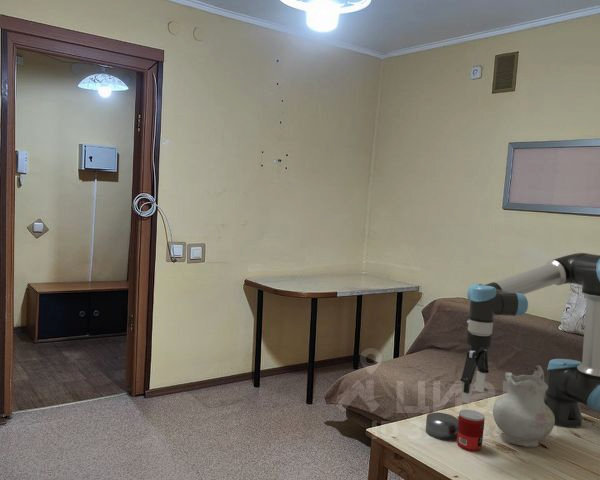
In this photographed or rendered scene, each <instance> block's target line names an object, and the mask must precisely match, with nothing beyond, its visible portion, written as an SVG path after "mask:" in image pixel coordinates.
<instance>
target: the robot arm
mask: <svg viewBox="0 0 600 480" xmlns="http://www.w3.org/2000/svg"><path fill="white" fill-rule="evenodd" d="M565 284H572V285H573V284H575V285H578V286H582V287H581V294H583V296H585V298H586V301H585V302H586V303H585V318H584V330H583V331H584V332H583V346H582V359H581V360H582V361H579V360H575V359H569V358H568V359H567V358H553V359H550V360H549V362H548V365H547V368H546V369H547V371H546V378H545V379H546V382H545V383H546V384H547V385H548V389H547V391H546V392H545V394H544V402H545V404H546V405H547V406H548V407H549V408H550V410H551V411H552V412H553V414H554V417H555V424H554V426H558V427H559V426H560V427H563V428H579V427H581V426H582V424H583V415H582V411H581V406H580V404H583V405H584V406H587V407H588V408H590V409H593V410H596V411H598V412H600V255H599V254H591V253H586V252H585V253H584V252H577V253H576V252H575V253H572V254H567V255H564V256H561V257H558V258H554V259H551V260H549V261H547V262H546V263H545V264H544V265H541V266H539V267H535V268H533V269H529V270H526V271H524V272H523V271H522V272H520V273H517V274H514V275H510V276H509V277H508V276H507V277H505V278H501V279H498V280H496V281H493V282H489V283H486V284H483V283H474V284H471V286H469V288H468V289H467V292H466V293H467V294H466V295H467V299H468V301H469V310H468V311H469V312H468V320H467V321H466V324H467V330H468V331H467V332H466V344H467V345H469V346H470V347H471V348H470V350H469V349H468V350H467V352H466V359H465V362H464V366H463V371H462V375H461V378H460V381H461V382H462V383H463V384H462V390H461V391H462V393H461V402H463V403H464V404H465V403H466V404H471V402H472V393H473V392H472V391H473V385H474V384H473V379H474V376H475V374H476V378H475V387H474V388H475V389H474V391H475V392H479V393H483V394H484V393H485V384H486V383H485V382H486V376H487V375H486V374H489V372H490V370H489V357H488V356H489V353H488V348H490V347H491V345H492V334H493V329H494V327H493V325H494V317H495V316H503V317H505V316H506V317H509V316H510V317H511V316H512V317H516V316H523V315H525V314H526V313H527V311H528V307H529V301H528V298H527V296H526V295H527V294H529V293H532V292H535V291H538V290H541V289H545V288H547V287H550V286H553V285H555V286H562V285H565ZM476 369H477V370H478V371H476ZM475 372H476V373H475Z"/></svg>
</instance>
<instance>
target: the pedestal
mask: <svg viewBox="0 0 600 480" xmlns="http://www.w3.org/2000/svg"><path fill="white" fill-rule="evenodd" d="M425 421H426V422H425V434H427V435H428V436H430V437H431V438H433V439H436V440H439V441H440V440H441V441H448V442H449V441H454V440H457V433H458V421H459V418H457V416H454V415H451V414H449V413H445V412H431V413H428V414H427V415H426V420H425Z"/></svg>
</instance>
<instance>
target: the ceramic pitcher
mask: <svg viewBox="0 0 600 480" xmlns="http://www.w3.org/2000/svg"><path fill="white" fill-rule="evenodd" d="M504 378H505V381H506V385H507V393H506V394H505V395H504V396H501V397H499V398H497V399H496V400H495V401H494V403H493V406H492V407H493V408H492V416H493V420H494V422H495V424H496V426H497V428H498V429H499V430H500V431H501V432H503V433H502V435H501V437H500V438H501V440H502V442H504V443H506V444H507V443H508V444H512V445H518V446H521V447H526V448H536V447H539V446H540V443H539V441H541V440H544V439H545V438H547V437H548V436H549V435H550V434H551V432H552V431H553V429H554V426H555V417H554V414H553V412H552V411H551V410H550V408H549V407H548V406H547V405H546V404H545V402H544V397H545V392H546V391H547V389H548V385H547V384H546V382H545V373H544V369H543V367H542V366H541V365H539V364H538V365H537V364H536V365H535V366H534V371H533V374H532V375H531V374H530V375H529V374H528V375H527V374H521V375H518V376H516V375H515V374H513V373H512V372H509V371H505V374H504Z"/></svg>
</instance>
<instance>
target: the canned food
mask: <svg viewBox="0 0 600 480" xmlns="http://www.w3.org/2000/svg"><path fill="white" fill-rule="evenodd" d="M458 413H459V414H458V420H459V421H458V433H457V439H456V444H457V446H458V447H459V448H460V449H462V450H464V451H467V452H478V451H480V450H482V447H483V439H484V432H485V431H484V430H485V420H486V419H485V415H484V413H482V412H480V411H476V410H474V409H461V410H460V411H459V412H458Z"/></svg>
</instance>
